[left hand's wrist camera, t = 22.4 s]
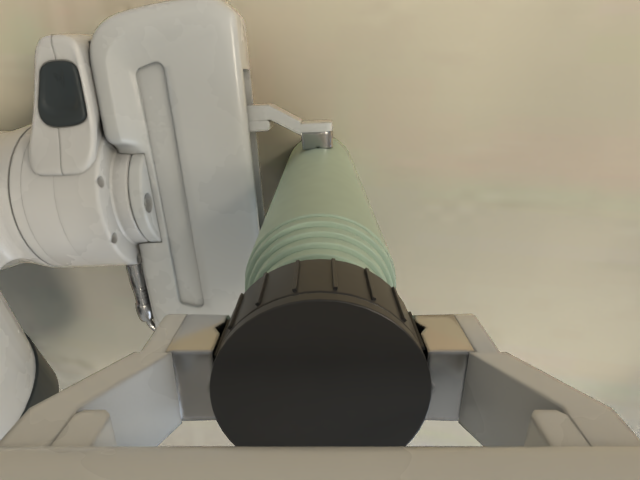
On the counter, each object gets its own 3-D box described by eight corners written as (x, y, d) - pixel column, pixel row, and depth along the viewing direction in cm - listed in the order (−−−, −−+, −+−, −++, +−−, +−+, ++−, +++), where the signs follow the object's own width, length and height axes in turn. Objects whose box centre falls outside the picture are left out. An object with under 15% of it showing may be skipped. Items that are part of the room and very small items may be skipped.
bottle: (364, 157, 30) (475, 345, 9) (330, 210, 31) (352, 484, 10) (308, 122, 29) (279, 235, 8) (276, 178, 31) (175, 404, 9)
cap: (337, 441, 11) (340, 509, 9) (191, 356, 10) (163, 414, 8) (453, 326, 10) (482, 380, 8) (299, 217, 9) (294, 250, 7)
